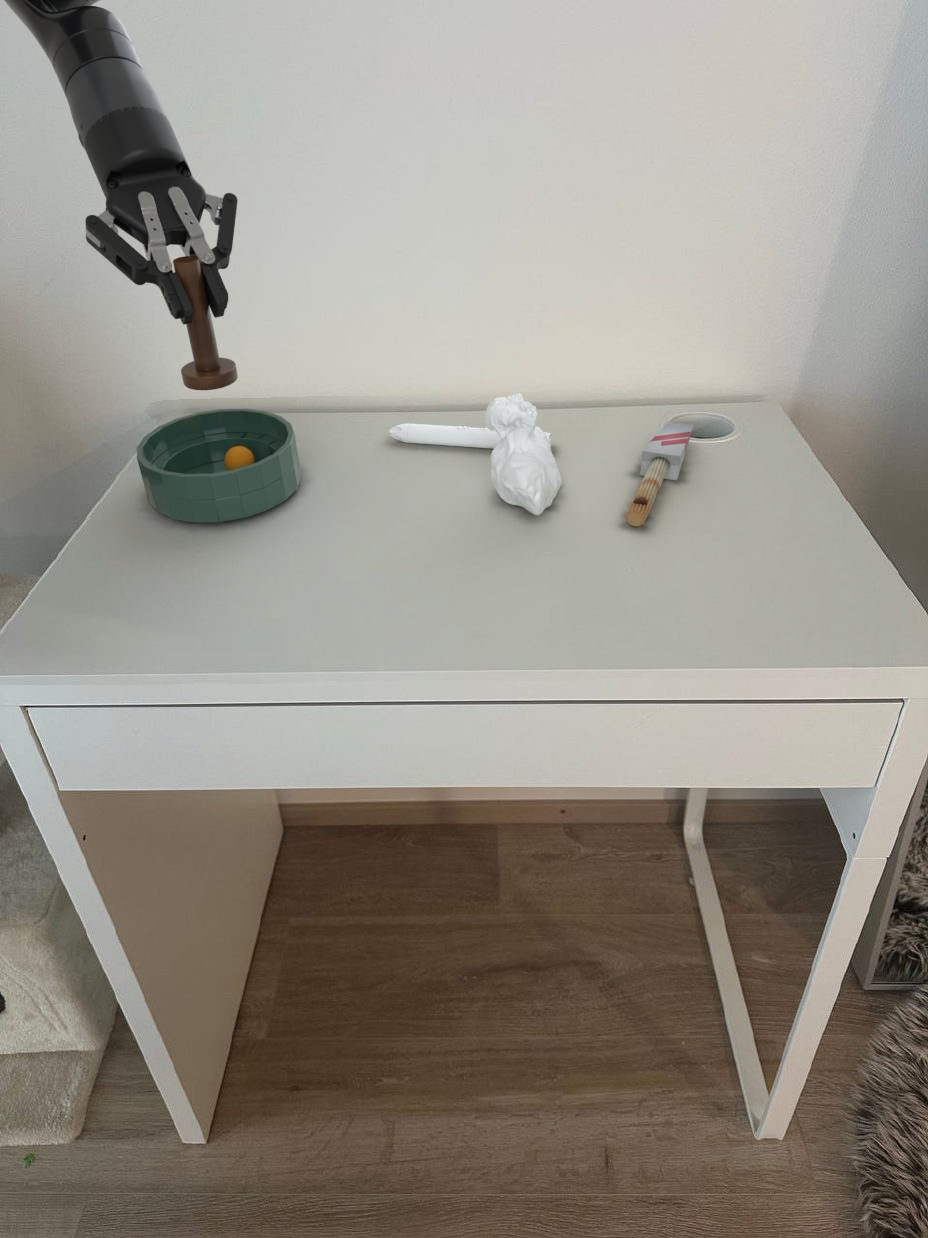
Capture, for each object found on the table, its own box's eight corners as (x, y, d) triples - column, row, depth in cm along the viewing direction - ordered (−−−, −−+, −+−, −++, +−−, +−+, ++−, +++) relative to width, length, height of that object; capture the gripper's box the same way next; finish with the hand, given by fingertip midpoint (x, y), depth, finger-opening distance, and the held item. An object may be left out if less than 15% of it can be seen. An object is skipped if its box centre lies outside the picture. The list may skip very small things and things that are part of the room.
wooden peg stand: (219, 393, 82) (194, 269, 75) (173, 387, 83) (144, 265, 77) (247, 372, 85) (226, 253, 79) (202, 367, 86) (177, 249, 80)
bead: (247, 482, 95) (242, 455, 94) (222, 478, 96) (216, 452, 94) (262, 469, 98) (257, 442, 96) (237, 465, 98) (231, 439, 97)
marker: (385, 444, 103) (383, 424, 101) (390, 436, 104) (389, 416, 103) (548, 455, 99) (548, 435, 98) (551, 447, 101) (551, 426, 99)
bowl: (254, 537, 88) (244, 485, 84) (118, 515, 92) (104, 464, 89) (326, 465, 99) (319, 417, 96) (202, 448, 103) (192, 401, 100)
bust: (527, 486, 98) (459, 405, 94) (587, 447, 95) (518, 361, 90) (517, 546, 89) (440, 459, 84) (582, 506, 85) (506, 412, 81)
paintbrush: (700, 412, 99) (655, 509, 85) (697, 436, 101) (653, 535, 86) (664, 407, 100) (613, 502, 86) (662, 431, 102) (612, 527, 88)
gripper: (40, 113, 74) (124, 309, 72) (209, 93, 79) (289, 275, 78) (46, 175, 80) (122, 355, 79) (200, 153, 86) (273, 321, 85)
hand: (204, 314), depth 79 cm, fingers closed on wooden peg stand
